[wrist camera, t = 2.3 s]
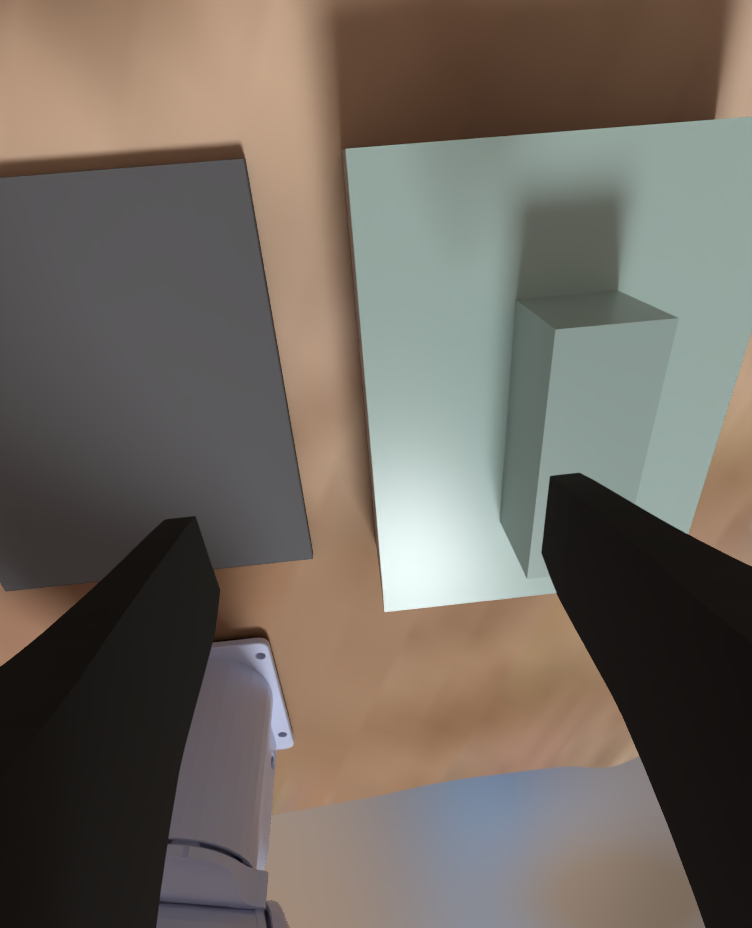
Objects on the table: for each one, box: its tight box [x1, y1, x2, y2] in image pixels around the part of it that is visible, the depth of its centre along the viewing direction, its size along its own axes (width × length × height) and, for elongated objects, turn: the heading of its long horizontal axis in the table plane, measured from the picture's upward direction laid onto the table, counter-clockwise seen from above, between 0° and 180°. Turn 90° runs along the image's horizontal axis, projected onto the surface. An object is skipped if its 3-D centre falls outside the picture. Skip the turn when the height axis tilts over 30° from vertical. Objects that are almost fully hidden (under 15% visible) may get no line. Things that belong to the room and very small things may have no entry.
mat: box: [0, 159, 313, 591], centre depth 20 cm, size 16×14×1 cm
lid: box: [345, 117, 752, 612], centre depth 16 cm, size 16×12×4 cm
